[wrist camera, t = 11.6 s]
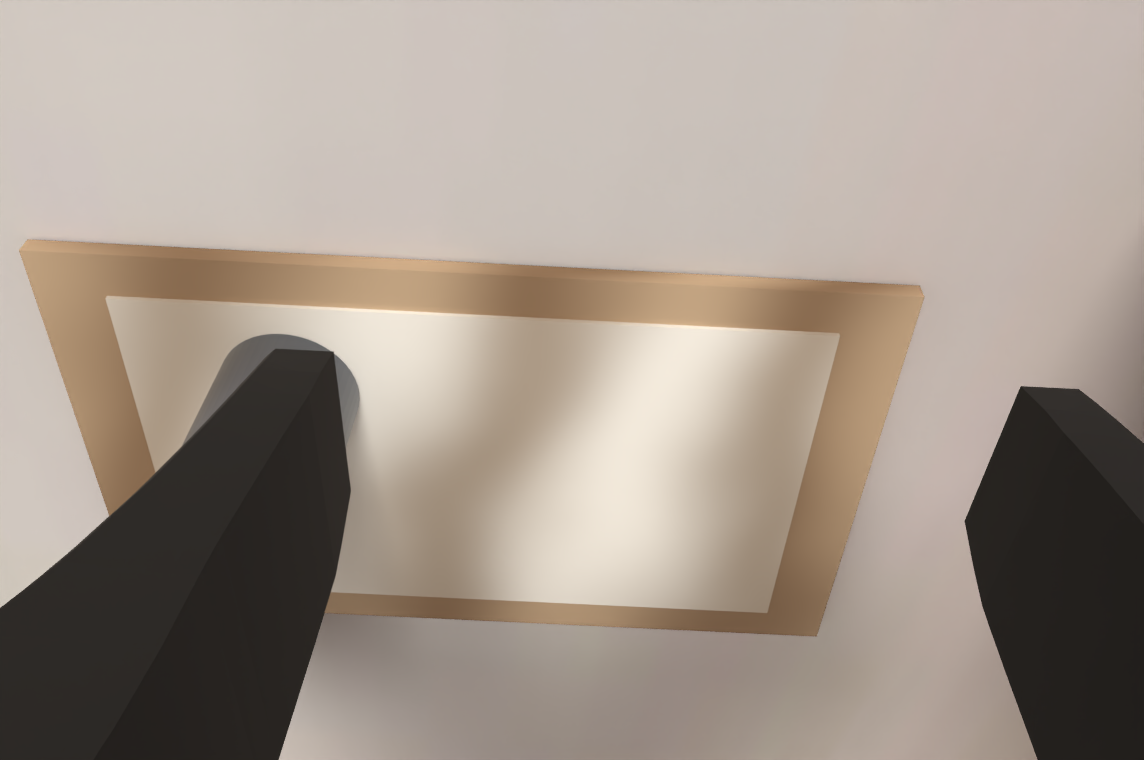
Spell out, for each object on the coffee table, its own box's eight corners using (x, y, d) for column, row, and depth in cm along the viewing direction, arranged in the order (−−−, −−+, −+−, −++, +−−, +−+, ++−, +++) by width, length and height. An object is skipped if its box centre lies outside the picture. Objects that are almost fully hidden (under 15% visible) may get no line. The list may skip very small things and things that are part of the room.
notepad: (920, 285, 21) (925, 299, 21) (813, 623, 28) (817, 639, 28) (27, 239, 21) (17, 252, 20) (144, 592, 28) (138, 607, 27)
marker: (353, 334, 22) (242, 653, 15) (368, 445, 23) (276, 770, 17) (204, 329, 22) (33, 646, 15) (232, 440, 24) (91, 762, 17)
